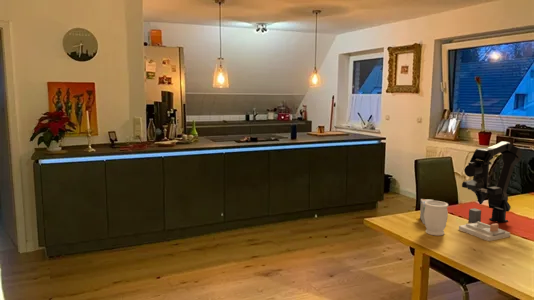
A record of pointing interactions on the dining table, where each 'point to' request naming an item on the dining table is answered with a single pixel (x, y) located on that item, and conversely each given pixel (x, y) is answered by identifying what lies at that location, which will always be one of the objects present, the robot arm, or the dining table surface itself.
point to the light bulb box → (423, 209)
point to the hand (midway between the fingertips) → (480, 204)
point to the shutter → (494, 229)
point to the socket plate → (482, 231)
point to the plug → (474, 215)
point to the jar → (435, 217)
